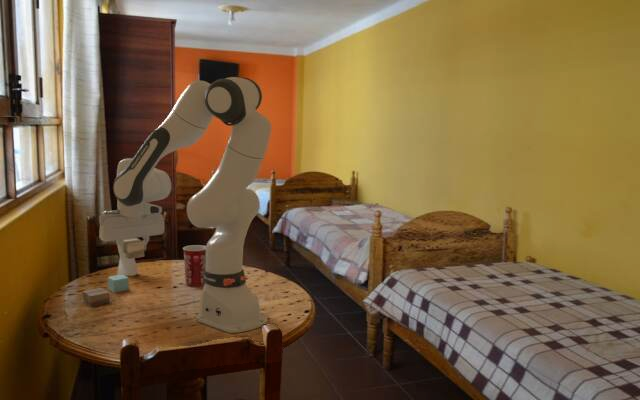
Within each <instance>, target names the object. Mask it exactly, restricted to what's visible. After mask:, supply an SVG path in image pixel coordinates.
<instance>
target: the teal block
mask: <svg viewBox="0 0 640 400" xmlns="http://www.w3.org/2000/svg"><path fill="white" fill-rule="evenodd" d="M129 285H130V284H129V277H128V276H124V275H117V274H116V275H111V276H107V289H108V290H110V291H111V292H112V293H114V294H115V293H119V292H124V291H129V287H130V286H129Z"/></svg>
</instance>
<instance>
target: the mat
mask: <svg viewBox="0 0 640 400" xmlns="http://www.w3.org/2000/svg"><path fill="white" fill-rule="evenodd" d="M80 301H81V302H82V303H84V304H85V305H86V306H88V307H92V306H98V305H103V304H107V303H111V302H112V300H110V301H109V302H104V303H100V304H95V305H89V304H87V303H86V302H85V301H83V299H80Z"/></svg>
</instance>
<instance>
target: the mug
mask: <svg viewBox="0 0 640 400" xmlns="http://www.w3.org/2000/svg"><path fill="white" fill-rule="evenodd" d="M182 251H183V261H184V262H183V263H184V278H185V285H186V286H188V287H201V286H204V285H205V282H204V270H205V269H206V245H200V244H197V245H196V244H194V245H193V244H192V245H186V246H184V247H182Z"/></svg>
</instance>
